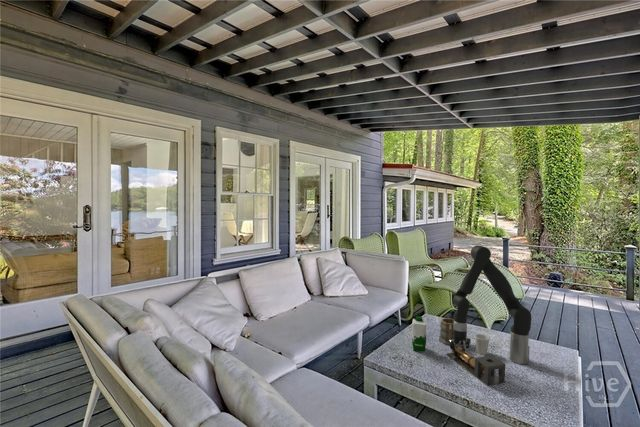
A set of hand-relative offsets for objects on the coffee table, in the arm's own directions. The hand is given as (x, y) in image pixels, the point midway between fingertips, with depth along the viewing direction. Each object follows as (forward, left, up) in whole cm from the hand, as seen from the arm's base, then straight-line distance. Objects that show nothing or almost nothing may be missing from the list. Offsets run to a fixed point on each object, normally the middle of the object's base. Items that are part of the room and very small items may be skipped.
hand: (459, 355), depth 196 cm
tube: (0, +7, -1) cm, 7 cm away
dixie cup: (-18, -2, -1) cm, 18 cm away
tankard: (-6, -18, -1) cm, 19 cm away
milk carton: (+18, -16, -1) cm, 24 cm away
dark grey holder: (0, +12, -1) cm, 12 cm away
